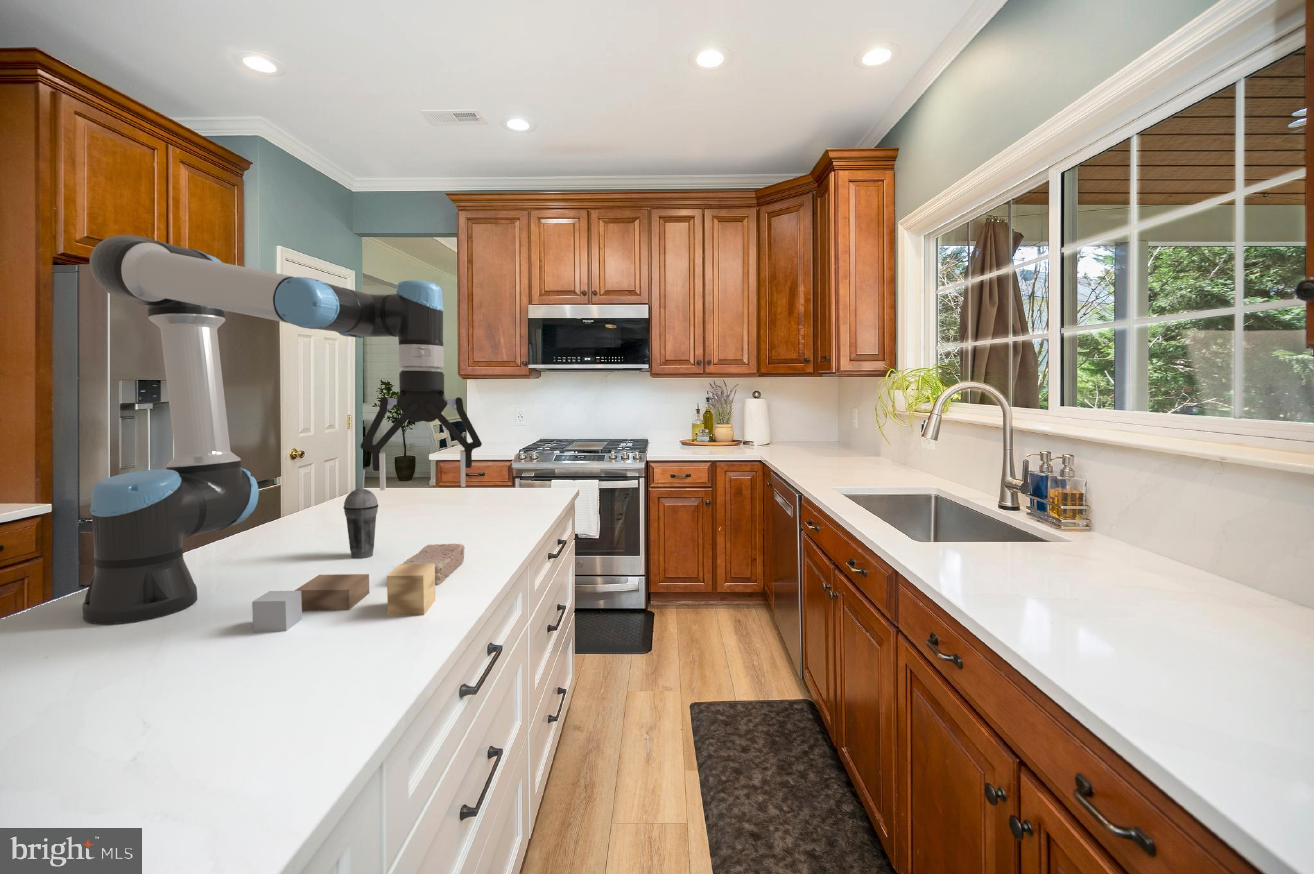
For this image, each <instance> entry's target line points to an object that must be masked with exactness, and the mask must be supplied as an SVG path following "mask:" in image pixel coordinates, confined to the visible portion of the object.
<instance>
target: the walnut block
mask: <svg viewBox="0 0 1314 874" xmlns="http://www.w3.org/2000/svg"><path fill="white" fill-rule="evenodd" d="M294 591H301V600H302V612H314V611H315V612H317V611H318V612H319V611H325V612H326V611H350V610H351V609H353V608H354V607H355V606H357V605H358V603H360V602H361V601H362V600H363V599H365V597H367V596H369V594H370V574H369V573H361V574H360V573H357V574H356V573H355V574H353V573H350V574H349V573H345V574H342V573H340V574H339V573H338V574H318V575H316V576H315V577H313V578H312V579H310V580H308V581H307V582H306V583H304V584H302V585H301V586H299V587H297V588H296V589H295V590H294Z"/></svg>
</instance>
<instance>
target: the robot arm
mask: <svg viewBox="0 0 1314 874" xmlns="http://www.w3.org/2000/svg"><path fill="white" fill-rule="evenodd" d="M89 267H90V268H89V269H90V273H91V275H92V277H93V279H94V280H95V282H96V283H97V285H98V286H100V287H101V288H102V289H103V290H104V291H105V292H107V293H108V294H109V295H111V296H113V297H114V298H118V299H119V300H123V301H126V302H129V303H133V304H140V305H146V306H147V307H146V308H147V315H148V320H149V321H151V322H152V323H153V324H154V325H156V326H157V327H158V328H159V329H160V334H161V335H160V336H161V338H160V339H161V345H162V352H163V354H162V355H163V362H164V370H165V379H166V380H165V381H166V387H167V396H168V404H169V413H170V422H171V431H172V437H173V438H172V439H173V448H174V454H175V455H174V457H173V458H172V459H171V460H170V461H168V463H167V464H166V466H165V467H166V469H164V468H163V469H147V470H142V471H132V472H127V473H122V474H117V475H113V476H111V477H107V478H104V479H102V480H101V481H100V480H99V481H98V482H97V483H96V484H95V485H93V487H92V489H91V494H90V495H91V502H90V507H89V512H90V513H91V525H92V541H93V542H92V543H93V558H94V560H93V561H94V573H93V574H92V578H91V580H90V583H89V587H88V589H87V591H86V593H85V598H84V600H83V603H82V607H81V610H82V612H81V613H82V619H83V620H84V622H86V623H91V624H98V625H99V624H101V625H103V624H105V625H107V624H108V625H109V624H111V625H112V624H123V623H124V624H125V623H131V622H138V621H145V620H149V619H154V618H158V617H162V616H163V617H164V616H167V615H170V614H173V613H177V612H179V611H182V610H184V609H187V608H188V607H190V606H192V605H193V604H196V602H197V601H198V589H197V588H198V587H197V585H196V583H195V582H194V579H193V577H192V574H191V572H190V570H189V568H188V566H187V564H186V561H185V559H184V549H183V545H184V543H183V539H186V538H189V537H194V536H197V535H202V534H205V533H209V532H213V531H222V530H225V529H228V528H229V527H232V526H234V525H238V524H239V523H242V522H244V521H245V520H247V518H249V516H251V514H252V513H253V512H254V511H255V509H256V507H257V505H258V501H259V494H260V492H259V491H260V490H259V485H258V482H257V480H256V478H255V477H254V476H252V473H251V472H250V471H249V470H248V469H245V468H242V459H241V458H240V457H239V456H238V455H236V454H235V453H234V452H232V451H231V445H230V437H229V427H228V417H227V416H228V415H227V409H226V399H225V391H224V390H225V389H224V381H223V373H222V372H223V371H222V363H221V354H220V344H219V336H218V329H219V328H220V327H221V326H222V325H223V324H224V323H225V322H226V315H225V313H227V312H230V313H231V312H232V313H237V314H243V315H246V316H247V315H248V316H252V317H258V318H261V319H262V318H263V319H265V320H272V321H277V322H282V323H285V324H286V323H287V324H290V325H294V326H296V327H299V328H302V329H303V328H304V329H309V330H323V331H326V332H327V331H329V332H335V333H338V334H339V335H340V336H343V337H350V338H359V339H363V338H374V337H375V338H377V337H379V338H381V337H385V338H386V337H392V338H393V337H394V338H397V339H398V366H399V367H400V368H402V370H400V372H398V373H399V374H398V375H399V376H398V377H399V378H398V381H399V383H398V385H399V395H398V397H397V398H394V397H393V398H392V397H387V396H382V397H381V398H380V401H379V409H378V410H377V411H378V412H377V413H376V414H375V416H374V419H373V421H372V422H371V424H370V427H369V428H368V430H367V432H366V434H365V436H364V438H363V440H362V442H361V444H360V445H359V446H360V449H361V450H365V451H367V452H370V453H371V455H372V457H371V458H372V462H371V463H372V470H373V472H379V491H385V490H386V488H387V486H386V485H387V482H386V478H387V477H386V452H385V451H381V450H382V449H383V448H384V446H386V444H387V443H388V442H389V441H390V440H391V438H392V437H393V436H394V435H395V434H396V433H397V432H398V430H400V428H401V427H403V425H404V424H405V423H406V422H407V421H410V422H413V423H419V422H426V423H433V422H435V421H436V420H437V421H438V422H439V423H440V424H441V425H442V426H443V427H444V428H445V429H446V430H447V431H448V432H449V434H450V435H452V437H453V438H454V439H455V441H456V442H458V443H459V444H460V446H461V447H462V448H463V450H462V449H461V450H460V454H459V457H460V458H459V459H460V461H459V462H460V468H459V469H460V488H465V487H466V486H467V485H466V481H467V480H466V477H467V475H466V469H471V468H472V466H473V464H472V460H473V459H472V458H473V457H472V455H473V454H472V452H473V450H475V449H478V448H481V447H482V444H483V443H482V441H481V439H480V437H479V435H478V434H477V432H476V429H475V428H474V426H473V424H472V422H471V420H470V418H469V417H468V415H467V413H466V411H465V409H464V403H463V398H462V397H460V396H459V397H454V398H446V396H445V395H446V394H445V373H444V372H443V371H441V369H444V368H445V353H444V352H445V349H444V311H445V308H444V303H443V300H444V299H443V291H442V290H443V289H442V288H441V287H440V285H439V284H436V283H434V282H430V281H424V280H415V279H413V280H409V279H407V280H402V281H400V282H398V283H397V288H396V293H392V294H378V293H377V294H376V293H375V294H373V293H371V294H370V293H365V292H362V291H359V290H354V289H350V288H347V287H346V288H345V287H341V286H338V285H334V284H331V283H328V282H324V281H322V280H319V279H314V278H310V277H304V276H293V275H288V274H282V273H277V272H271V271H267V270H261V269H258V268H251V267H247V266H242V265H237V264H236V265H235V264H231V263H225V262H223V261H221V260H220V259H219V258H217V257H215V256H213V255H210V254H207V253H205V252H202V251H200V250H198V249H195V248H188V247H187V248H186V247H183V246H179V245H175V244H170V243H167V242H163V241H159V240H155V239H151V238H148V237H145V236H139V235H134V234H133V235H132V234H120V235H119V234H117V235H113V236H111V237H107V238H105V239H103V240H101V241H99V243H97V244H96V245H95V246H94V248H93V250H92V251H91V253H90V256H89ZM395 405H397V407H398V408H399V409H400V411H401V412H402V414H401V415H400V416H399V417H398V419H397V420H396V421H395V422H394V423H393V425H391V426H390V428H389V429H388V430H387V431H386V432H385V433H384V435H382V436H381V438H380V439H379V440H378V441H377V443H375V444H374V443H372V442H373V440H374V438H375V436H376V434H377V432H378V430H379V428H380V427H381V425H382V422H383V421H384V419H385V417H386V415H387V412H388V411H389V410H392V409H393V408H394V406H395ZM447 406H450V407H451V409H452V410H455V411H456V413H457V415H458V417H459V418H460V420H461V422H462V424H463V425H464V428H465V429H466V432H467V433H468V435H469V437H470V439H471V442H468V440H466V438H465V437H464V436H463V435H462V434H461V433H460V432H459V431H458V430H457V428H455V426H454V425H453V424H452V423H451V422H450V421H449V420H448V418H446V417H445V415H444V414H443V413H442V412H443V411H444V410H445V409H446V407H447Z"/></svg>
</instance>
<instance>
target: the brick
mask: <svg viewBox="0 0 1314 874" xmlns="http://www.w3.org/2000/svg"><path fill="white" fill-rule="evenodd" d="M464 559H465V545H464V544H461V543H441V544H440V543H438V544H437V543H436V544H427V545H424V547H423V548H422V549H420V550H419V551H418V553H416V554H413V556H410V557H409V558H407V559H406V560H405V561H403V562H402V564H435V587H436V586H440V585H441V584H442V583H444V582H445V581H446V579H447V578H449V577H450V575H452V574H453V573H455V571H457V569H458V568H460V567H461V565H462V564H463V562H464Z"/></svg>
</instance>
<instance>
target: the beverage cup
mask: <svg viewBox="0 0 1314 874" xmlns="http://www.w3.org/2000/svg"><path fill="white" fill-rule="evenodd" d="M365 472H366V469H362V470H361V486H360V487H361V488H359V489H358V488H357V489H354V490H352V491H351V492H350V493H348V495H346V497H345V500H344V503H343V510H344V511H343V512H344V515H345V519H346V526H347V527H346V528H347V534H348V544H349V551H350V555H351V556H350V558H352V559H367V558H371V557H373V556H374V548H375V535H376V523H377V521H376V520H377V514H378V509H379V508H378V507H379V503H378V499H377V497H376V495H375V494H374V493H373V492H372V491H370V490H369V489H367V488H365V474H366V473H365Z"/></svg>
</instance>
